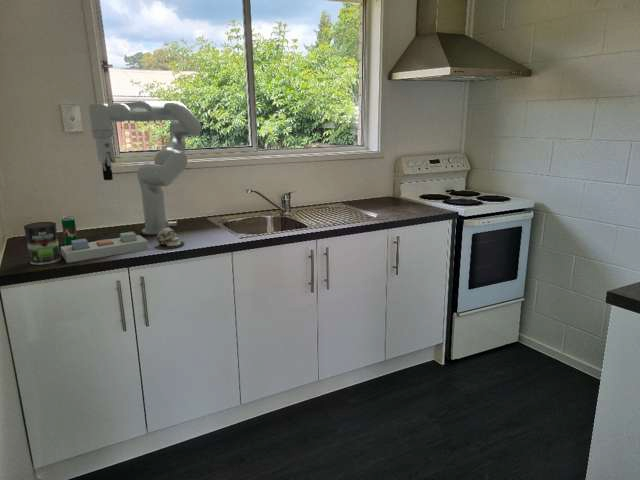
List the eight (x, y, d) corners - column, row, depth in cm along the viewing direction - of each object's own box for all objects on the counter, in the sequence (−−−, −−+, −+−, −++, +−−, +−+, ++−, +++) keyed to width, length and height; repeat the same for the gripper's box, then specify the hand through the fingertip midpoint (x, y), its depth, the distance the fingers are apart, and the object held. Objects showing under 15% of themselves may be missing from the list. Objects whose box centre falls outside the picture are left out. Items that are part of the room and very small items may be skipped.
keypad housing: (140, 242, 199) (139, 234, 198) (148, 248, 190) (147, 240, 189) (61, 255, 182) (60, 246, 181) (67, 262, 172) (66, 253, 172)
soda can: (75, 242, 200) (71, 215, 197) (80, 244, 197) (76, 216, 194) (62, 244, 196) (58, 217, 193) (68, 246, 193) (63, 218, 190)
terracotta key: (111, 248, 189) (109, 238, 188) (114, 250, 185) (113, 241, 184) (98, 250, 186) (96, 240, 185) (100, 253, 182) (99, 243, 181)
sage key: (133, 240, 194) (132, 231, 193) (136, 243, 190) (135, 233, 189) (120, 242, 191) (119, 233, 190) (124, 245, 187) (123, 235, 186)
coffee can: (63, 261, 174) (57, 225, 170) (31, 266, 168) (24, 229, 165) (59, 255, 182) (53, 220, 178) (28, 259, 176) (22, 223, 173)
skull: (191, 241, 198) (178, 227, 190) (179, 261, 193) (165, 248, 185) (171, 236, 203) (158, 223, 195) (159, 256, 199) (144, 243, 191)
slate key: (86, 248, 183) (85, 238, 182) (89, 251, 180) (87, 241, 178) (72, 250, 180) (71, 240, 179) (75, 253, 177) (73, 243, 176)
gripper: (117, 135, 184) (122, 181, 189) (107, 134, 196) (113, 177, 201) (96, 135, 180) (103, 182, 185) (88, 134, 191) (94, 178, 196)
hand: (108, 179), depth 193 cm, fingers closed
